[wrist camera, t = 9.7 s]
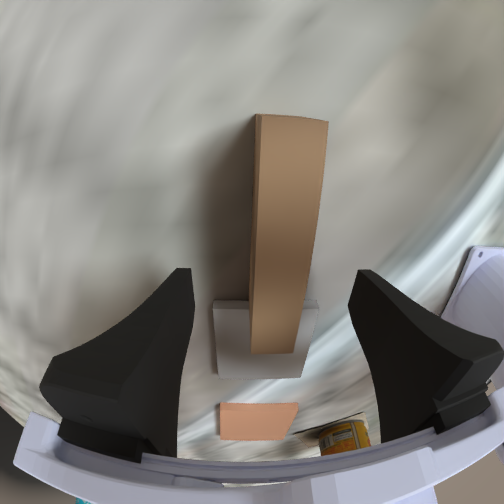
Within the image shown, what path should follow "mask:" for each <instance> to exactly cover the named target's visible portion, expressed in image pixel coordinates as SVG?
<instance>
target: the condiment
mask: <svg viewBox="0 0 504 504" xmlns="http://www.w3.org/2000/svg"><path fill="white" fill-rule="evenodd" d="M321 428H322V429H321ZM368 429H369V427H368V423H367V418H366V414H365V412H364V413H361V414H358V415H355V416H352V417H349V418H347V419H342V420H339V421H337V422H333V423H331V424H328V425H326V426H323V427H319V428H315V429H311V430H307V431H305V432H302V433H298V434H294V435H295V436H296V437H298V438H299V439H300V440H301V441H302V442H304V443H305V444H306V445H307V446H308V447H312V446H317V445H319V447H320V452H321V456H325V455H332V454H337V453H343V452H348V451H353V450H357V449H362V448H366V447H370V446H371V444H370V440H369V437H368V433H367V430H368Z"/></svg>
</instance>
